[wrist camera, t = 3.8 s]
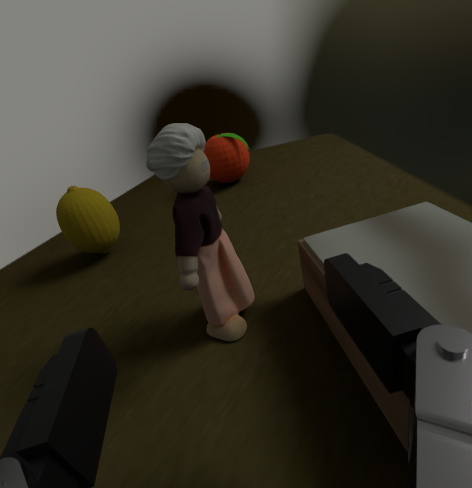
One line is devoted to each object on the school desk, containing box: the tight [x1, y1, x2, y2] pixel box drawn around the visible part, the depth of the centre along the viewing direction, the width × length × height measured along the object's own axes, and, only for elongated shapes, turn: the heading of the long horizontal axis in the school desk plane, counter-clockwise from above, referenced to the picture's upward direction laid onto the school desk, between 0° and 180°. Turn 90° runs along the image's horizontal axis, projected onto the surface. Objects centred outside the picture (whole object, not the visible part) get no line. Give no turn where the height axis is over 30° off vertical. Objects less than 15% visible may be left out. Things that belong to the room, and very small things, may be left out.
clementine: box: [203, 133, 250, 183], centre depth 43 cm, size 8×7×7 cm
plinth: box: [298, 202, 472, 451], centre depth 15 cm, size 9×12×4 cm
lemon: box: [56, 186, 120, 254], centre depth 32 cm, size 6×6×8 cm
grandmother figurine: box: [147, 123, 255, 341], centre depth 18 cm, size 8×4×13 cm, turn 3°
